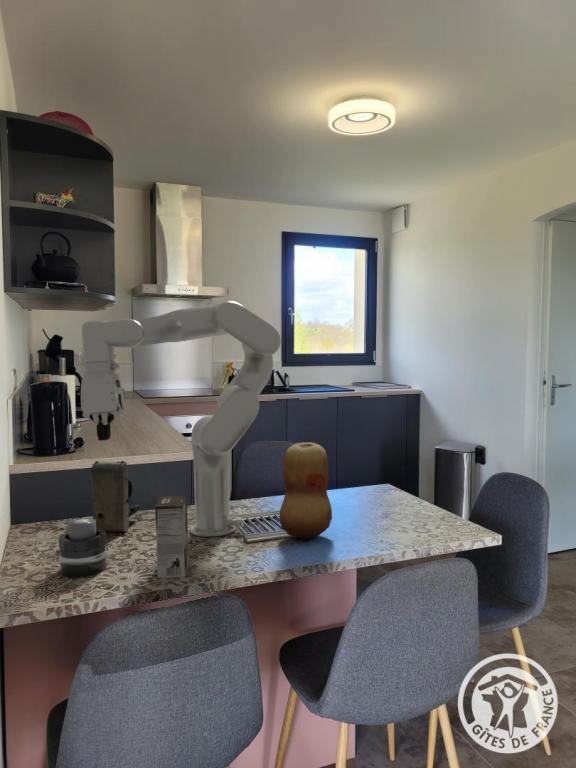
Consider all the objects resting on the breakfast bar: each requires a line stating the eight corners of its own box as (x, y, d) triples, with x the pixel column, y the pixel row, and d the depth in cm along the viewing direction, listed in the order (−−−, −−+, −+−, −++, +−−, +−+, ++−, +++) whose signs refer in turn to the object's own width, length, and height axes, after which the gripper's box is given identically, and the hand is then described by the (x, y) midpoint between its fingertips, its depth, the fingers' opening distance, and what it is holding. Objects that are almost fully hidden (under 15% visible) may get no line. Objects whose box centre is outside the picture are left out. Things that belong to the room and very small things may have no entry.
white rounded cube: (101, 539, 136) (100, 518, 136) (87, 548, 130) (86, 525, 130) (78, 538, 137) (77, 517, 137) (63, 547, 131) (62, 524, 131)
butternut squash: (294, 549, 144) (291, 449, 143) (272, 534, 156) (270, 442, 155) (342, 540, 150) (340, 444, 149) (317, 527, 162) (316, 438, 161)
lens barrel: (115, 562, 138) (114, 529, 137) (91, 579, 128) (89, 543, 127) (77, 559, 140) (75, 527, 140) (50, 576, 130) (48, 540, 130)
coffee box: (161, 564, 136) (159, 496, 135) (189, 562, 137) (187, 494, 136) (156, 579, 127) (153, 506, 126) (186, 577, 128) (183, 504, 127)
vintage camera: (145, 519, 175) (142, 454, 175) (125, 533, 160) (122, 461, 160) (114, 520, 176) (111, 454, 176) (92, 534, 161) (89, 462, 161)
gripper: (133, 367, 152) (137, 437, 153) (81, 369, 155) (85, 437, 156) (119, 368, 145) (124, 441, 146) (65, 370, 147) (70, 442, 149)
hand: (104, 439), depth 151 cm, fingers closed
